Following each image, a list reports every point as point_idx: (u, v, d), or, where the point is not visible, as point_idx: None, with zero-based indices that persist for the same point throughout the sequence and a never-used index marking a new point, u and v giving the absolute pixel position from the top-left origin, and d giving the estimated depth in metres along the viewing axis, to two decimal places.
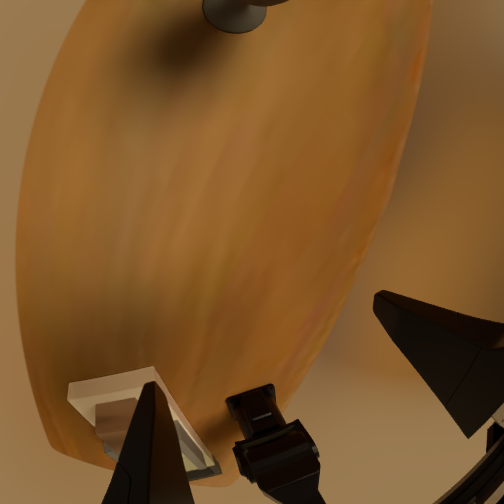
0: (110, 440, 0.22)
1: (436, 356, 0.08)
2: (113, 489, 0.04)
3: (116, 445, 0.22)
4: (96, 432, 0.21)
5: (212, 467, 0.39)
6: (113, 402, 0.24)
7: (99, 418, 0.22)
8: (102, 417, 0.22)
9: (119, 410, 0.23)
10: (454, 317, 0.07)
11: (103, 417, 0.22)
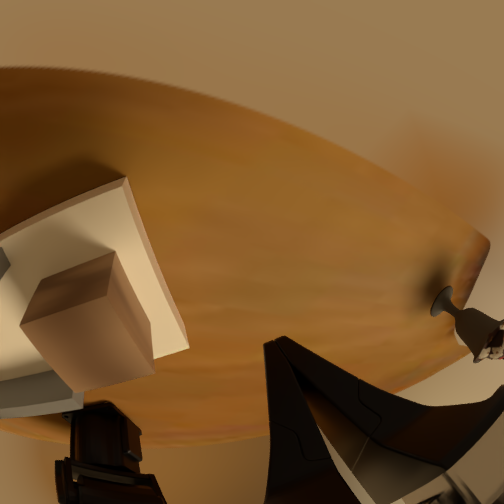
0: (82, 323, 0.10)
1: (331, 424, 0.07)
2: (279, 450, 0.05)
3: (60, 331, 0.10)
4: (108, 294, 0.10)
5: None
6: (132, 290, 0.14)
7: (116, 280, 0.12)
8: (119, 286, 0.12)
9: (137, 312, 0.14)
10: (351, 386, 0.07)
11: (120, 288, 0.12)
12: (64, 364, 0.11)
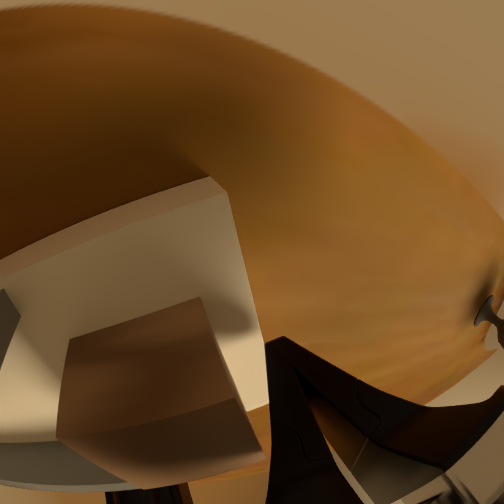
0: (177, 433, 0.06)
1: (330, 424, 0.07)
2: (280, 450, 0.05)
3: (135, 444, 0.06)
4: (232, 392, 0.06)
5: None
6: (219, 348, 0.10)
7: (218, 351, 0.08)
8: (222, 358, 0.08)
9: (233, 382, 0.09)
10: (350, 387, 0.07)
11: (223, 361, 0.08)
12: (135, 470, 0.06)
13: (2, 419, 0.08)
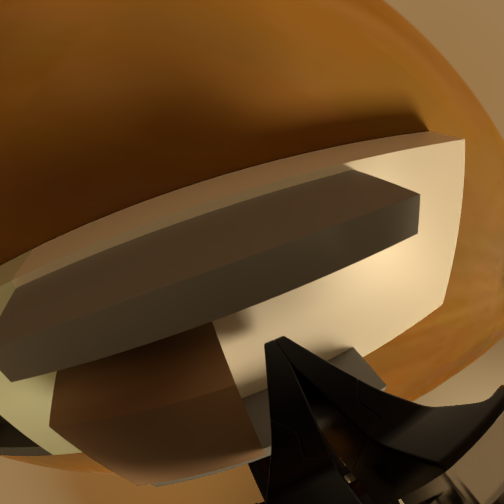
0: (175, 423, 0.06)
1: (330, 424, 0.07)
2: (280, 450, 0.05)
3: (131, 435, 0.05)
4: (233, 380, 0.06)
5: (35, 450, 0.10)
6: None
7: None
8: None
9: None
10: (351, 387, 0.07)
11: None
12: (130, 464, 0.06)
13: None
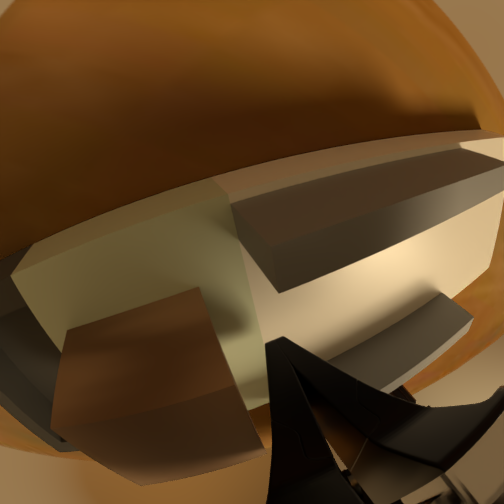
0: (175, 424, 0.06)
1: (329, 424, 0.07)
2: (281, 449, 0.05)
3: (132, 435, 0.05)
4: (232, 380, 0.06)
5: None
6: (218, 340, 0.10)
7: (218, 341, 0.08)
8: None
9: None
10: (350, 387, 0.07)
11: (222, 351, 0.08)
12: (131, 465, 0.06)
13: (359, 310, 0.12)
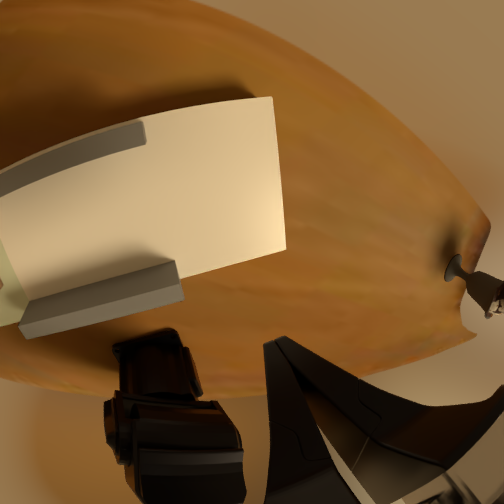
0: None
1: (331, 424, 0.07)
2: (279, 450, 0.05)
3: None
4: None
5: None
6: None
7: None
8: None
9: None
10: (351, 386, 0.07)
11: None
12: None
13: (64, 254, 0.16)
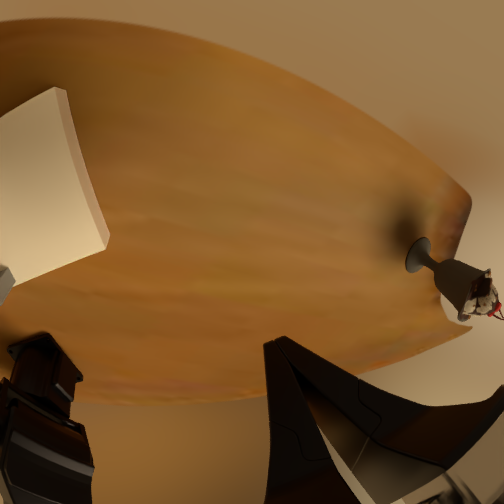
0: None
1: (331, 424, 0.07)
2: (279, 450, 0.05)
3: None
4: None
5: None
6: None
7: None
8: None
9: None
10: (351, 386, 0.07)
11: None
12: None
13: None
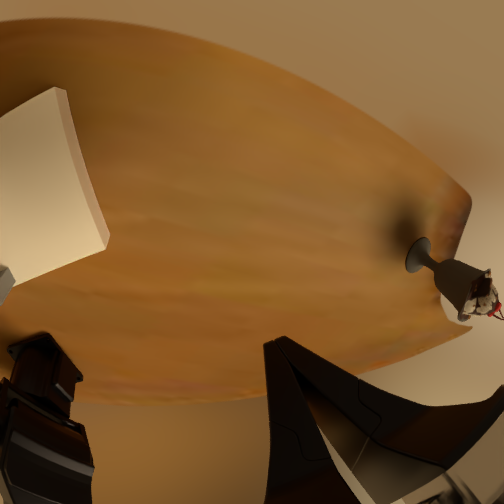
0: None
1: (331, 424, 0.07)
2: (279, 450, 0.05)
3: None
4: None
5: None
6: None
7: None
8: None
9: None
10: (351, 386, 0.07)
11: None
12: None
13: None
